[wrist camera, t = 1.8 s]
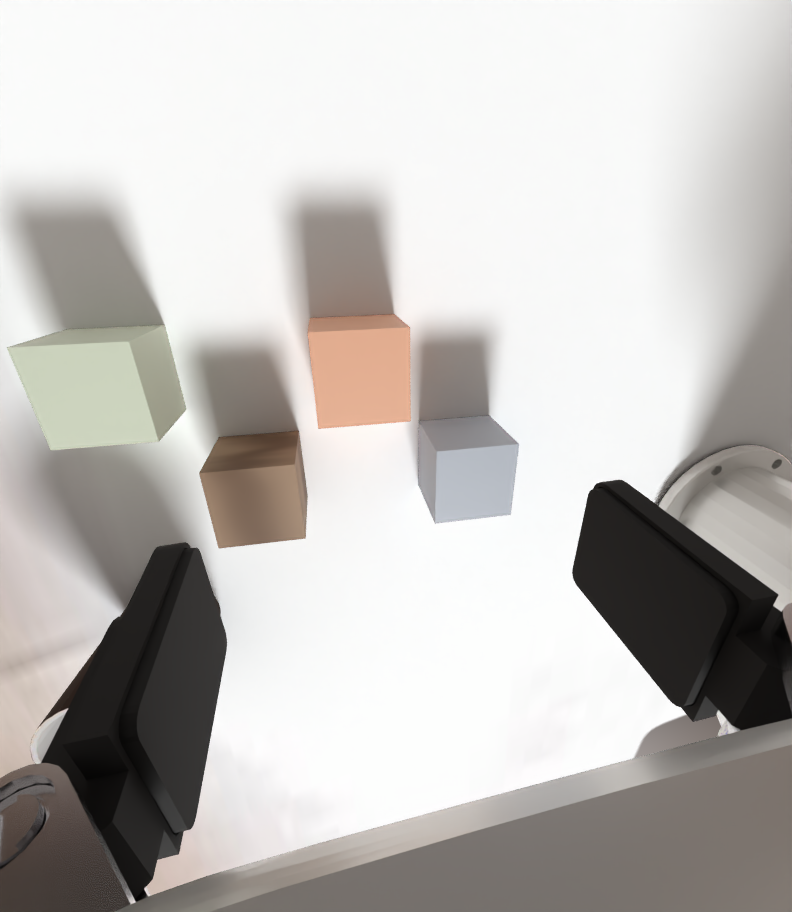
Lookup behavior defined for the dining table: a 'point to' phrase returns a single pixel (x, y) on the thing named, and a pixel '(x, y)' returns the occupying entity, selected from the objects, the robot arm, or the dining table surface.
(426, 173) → the dining table surface
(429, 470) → the slate cube
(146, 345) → the sage cube
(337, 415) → the terracotta cube
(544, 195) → the dining table surface
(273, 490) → the walnut cube
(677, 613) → the robot arm
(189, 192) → the dining table surface
